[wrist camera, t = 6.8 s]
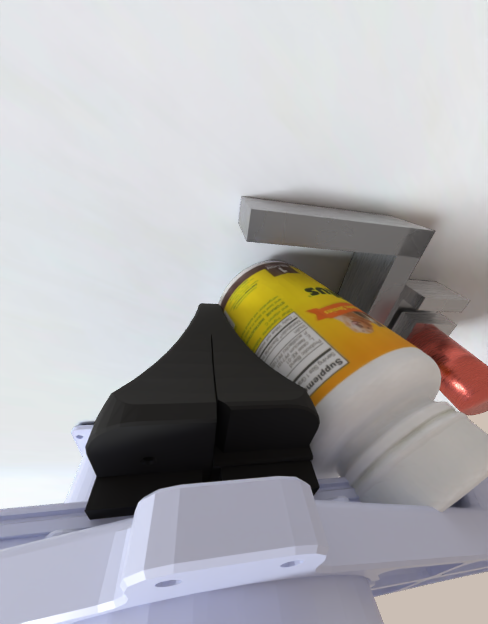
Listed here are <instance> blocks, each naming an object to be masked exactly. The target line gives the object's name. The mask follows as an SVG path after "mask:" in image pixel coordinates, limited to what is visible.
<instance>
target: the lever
mask: <svg viewBox="0 0 488 624" xmlns="http://www.w3.org/2000/svg"><path fill="white" fill-rule="evenodd" d="M456 326H457V325H456V324H455V323H454V322H452V321H451V320H449V319H448V318H446V317H445V316H443V315H442V314H440V313H418V312H402V313H401V314H400V316H399V318H398V320H397V321H396V323H395V325H394V326H393V328H392V331H393V332H395V333H396V334H398V335H399V336H401V337H402V338H404V339H405V340H407V341H408V342H410V343H411V344H413V345H414V346H416V347H417V348H419V349H420V350H422V351H423V352H424V353H426V354H427V355H428V356H430V357H431V358H432V359H433V360H434V361H435V362H436V364H437V365H438V367H439V369H440V373H441V385H440V389H439V390H440V391H441V392H442V393H443V394H444V395H445V396H446V397H447V398H448V399H449V400H450V402H451V403H452V404H453V405H454V406H455V407H456V408H457V409H458V410H459V411H460V412H462V413H464V414H466V415H476V414H480V413H483V412H486V411H488V366H487V365H486V364H484V363H483V362H482V361H480V360H479V359H478V358H477V357H475V356H474V355H473V354H471V353H470V352H469V351H467V350H466V349H465V348H463V347H462V346H461V345H459V344H458V343H457V342H455V341H454V340H453V339H451V338H450V337H449V335H450V333H451V332H452V331H453V330H454V328H455V327H456Z"/></svg>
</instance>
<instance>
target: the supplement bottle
mask: <svg viewBox="0 0 488 624" xmlns="http://www.w3.org/2000/svg"><path fill="white" fill-rule="evenodd" d="M219 305H220V306H221V308H222V310H223V312H224V314H225V316H226V318H227V319H228V321H229V323H230V324H231V326H232V327H233V329H234V330H235V331H236V333H237V334H238V335H239V337H240V338H241V339H242V340H243V342H244V343H245V344H246V345H247V346H248V347H249V348H250V349H251V350H252V351H253V352H254V353H255V354H256V355H257V356H258V357H259V358H260V359H262V360H263V361H264V362H265V363H266V364H268V365H269V366H270V367H272V368H273V369H274V370H276V371H277V372H279V373H280V374H282V375H283V376H285V377H286V378H288V379H289V380H291V381H293V382H295V383H296V384H298V385H300V386H301V387H303V388H305V389H306V391H307V393H308V395H309V396H310V398H311V400H312V402H313V404H314V406H315V408H316V410H317V413H318V415H319V419H320V424H319V428H318V430H317V432H316V434H315V436H314V437H313V439H312V441H311V443H310V448H311V451H312V454H313V460H312V461H311V462H312V465H313V468H314V471H315V474H316V477H317V479H326V478H337V477H345V478H346V479H347V480H348V481H349V486H352V487H353V488H355V493H356V495H357V496H359V501H360V502H362V503H381V504H400V505H419V506H430V507H433V508H435V509H436V510H438V511H440V512H443V511H445V510H446V509H447V508H449V507H450V506H451V505H453V504H454V503H455V502H457V501H458V500H459V499H461V498H462V497H463V496H465V495H466V494H467V493H468V492H470V491H471V490H472V489H474V488H475V487H476V486H477V485H478V484H479V483H481V482H482V481H483V480H484V479H486V478H487V477H488V434H486V433H485V432H484V431H483V430H482V429H480V428H479V427H478V426H477V425H475V424H474V423H473V422H472V421H471V420H469V419H468V417H467V416H466V414H464V413H462V412H456V411H455V409H454V408H453V407H452V406H451V405H450V404H449V403H447V402H434V401H433V400H434V399H435V397H436V395H437V393H438V391H439V389H440V385H441V373H440V369H439V367H438V365H437V364H436V362H435V361H434V360H433V359H432V358H431V357H430V356H428V355H427V354H426V353H424V352H423V351H422V350H420V349H419V348H417V347H416V346H414V345H413V344H411V343H410V342H408V341H407V340H405V339H404V338H402V337H401V336H399V335H398V334H396V333H395V332H393V331H392V330H390V329H389V328H387V327H385V326H384V325H382V324H381V323H379V322H378V321H376V320H375V319H373V318H372V317H370V316H369V315H367V314H366V313H365V312H363V311H362V310H360V309H358V308H357V307H355V306H354V305H352V304H351V303H349V302H348V301H346V300H345V299H343V298H342V297H340V296H339V295H337V294H336V293H334V292H333V291H331V290H330V289H328V288H327V287H325V286H324V285H322V284H321V283H319V282H318V281H316V280H315V279H313V278H312V277H310V276H309V275H307V274H305V273H304V272H302V271H301V270H299V269H298V268H296V267H294V266H293V265H291V264H288V263H286V262H282V261H264V262H260V263H257V264H254V265H252V266H250V267H248V268H246V269H245V270H243V271H242V272H240V273H239V274H238V275H237V276H236V277H235V278H234V279H233V280H232V281H231V282H230V283H229V284H228V286H227V287H226V289H225V290H224V292H223V294H222V296H221V298H220V301H219Z"/></svg>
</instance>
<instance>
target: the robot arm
mask: <svg viewBox="0 0 488 624" xmlns="http://www.w3.org/2000/svg"><path fill="white" fill-rule="evenodd" d="M319 424H320V419H319V415H318V413H317V410H316V408H315V406H314V404H313V402H312V400H311V398H310V396H309V395H308V393H307V391H306V389H305V388H303V387H301V386H300V385H298V384H296V383H295V382H293V381H291V380H289V379H288V378H286V377H285V376H283V375H282V374H280V373H279V372H277V371H276V370H274V369H273V368H272V367H270V366H269V365H268V364H266V363H265V362H264V361H263V360H262V359H260V358H259V357H258V356H257V355H256V354H255V353H254V352H253V351H252V350H251V349H250V348H249V347H248V346H247V345H246V344H245V343H244V342H243V340H242V339H241V338H240V337H239V335H238V334H237V333H236V331H235V330H234V329H233V327H232V326H231V324H230V323H229V321H228V319H227V318H226V316H225V314H224V312H223V310H222V308H221V306H220V305H219V304H204V303H201V304H200V305H199V307H198V310H197V312H196V314H195V316H194V318H193V320H192V321H191V323H190V324H189V326H188V328H187V329H186V330H185V332H184V333H183V334H182V336H181V337H180V338H179V340H178V341H177V342H176V343H175V344H174V345H173V346H172V348H171V349H170V350H169V351H168V352H167V353H166V354H165V355H164V356H163V357H161V358H160V359H159V360H158V361H157V362H156V363H155V364H154V365H152V366H151V367H150V368H148V369H147V370H146V371H145V372H143V373H142V374H141V375H139V376H138V377H137V378H135V379H134V380H132V381H131V382H129V383H128V384H126V385H124V386H123V387H121V388H120V389H118V390H116V391H115V392H113V393H111V395H110V396H109V398H108V400H107V401H106V403H105V404H104V406H103V408H102V410H101V411H100V413H99V415H98V417H97V419H96V421H95V423H94V425H78V426H75V427H73V429H72V431H71V434H72V436H73V438H74V440H75V442H76V444H77V446H78V449H79V451H80V453H81V455H82V457H83V458H82V460H81V463H80V465H79V468H78V470H77V473H76V475H75V477H74V480H73V482H72V485H71V487H70V490H69V492H68V494H67V497H66V499H65V502H64V503H60V504H49V505H39V506H28V507H18V508H7V509H0V624H384V623H383V620H382V618H381V615H380V612H379V610H378V607H377V604H376V602H375V599H374V597H376V596H380V595H385V594H389V593H393V592H398V591H402V590H406V589H411V588H415V587H419V586H423V585H428V584H432V583H436V582H441V581H445V580H450V579H455V578H459V577H463V576H468V575H473V574H478V573H483V572H488V477H487V478H486V479H484V480H483V481H482V482H481V483H479V484H478V485H477V486H476V487H475V488H474V489H472V490H471V491H470V492H468V493H467V494H466V495H465V496H463V497H462V498H461V499H459V500H458V501H457V502H455V503H454V504H453V505H451V506H450V507H449V508H447V509H446V510H445V511H443V512H440V511H438V510H436V509H435V508H433V507H430V506H419V505H400V504H381V503H362V502H360V501H359V496H357V495H356V493H355V488H353V487H352V486H349V481H348V480H347V479H346V478H345V477H337V478H326V479H317V477H316V474H315V471H314V468H313V465H312V462H311V461H312V460H313V454H312V451H311V448H310V443H311V441H312V439H313V437H314V436H315V434H316V432H317V430H318V428H319Z"/></svg>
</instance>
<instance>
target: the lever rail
mask: <svg viewBox="0 0 488 624" xmlns="http://www.w3.org/2000/svg"><path fill="white" fill-rule="evenodd" d="M469 302H470V300H468V299H467V298H465V297H463V296H461V295H460V294H458V293H456V292H454V291H452V290H451V289H449V288H447V287H445V286H443V285H442V284H440V283H438V282H436V281H422V280H409V279H408V281H407V282H406V284H405V286H404V288H403V290H402V291H401V293H400V295H399V297H398V299H397V300H396V302H395V304H394V306H393V308H392V309H391V311H390V313H389V315H388V316H387V318H386V320H385V322H384V324H383V325H384V326H385V327H387V328H389V329H390V330H392V328H393V326H394V325H395V323H396V321H397V320H398V318H399V316H400V314H401V313H402V312H418V313H437V312H438V311H446V312H462V311H463V309H464V308H465V307H466V305H467V304H468V303H469Z"/></svg>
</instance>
